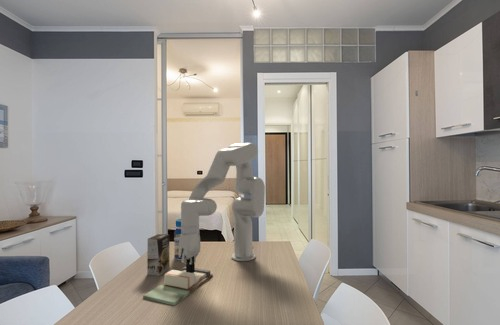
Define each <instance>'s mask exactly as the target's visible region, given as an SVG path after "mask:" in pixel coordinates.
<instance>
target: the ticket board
mask: <svg viewBox="0 0 500 325" xmlns="http://www.w3.org/2000/svg"><path fill="white" fill-rule="evenodd" d="M182 271H183V272H186V265H185V266H184V267H182ZM194 273H195V284H194V285H192V286H191V287H190V288H188V289H185V288H180V287H175V286H170V285H165V284H164V282H162V283H161V284H160V285H158V286H156V287H155V288H153V289H152V290H150V291H148V292H146V293H145V294H143V295H142V298H143V299H145V300H149V301H153V302H157V303H162V304H167V305H171V306H177V304H179V303H180V302H181V301H183V300H184V299H185V298H186V297H188V296H189V295H190V294H192V293H193V292H194V291H195V290H196V289H198V288H199V287H201V286H202V285H203V284H204V283H206V282H207V281H209V280H210V279H211V278H212V277H213V275H214V274H212V273H211V270H209V269H204V268H198V267H195V272H194Z"/></svg>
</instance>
